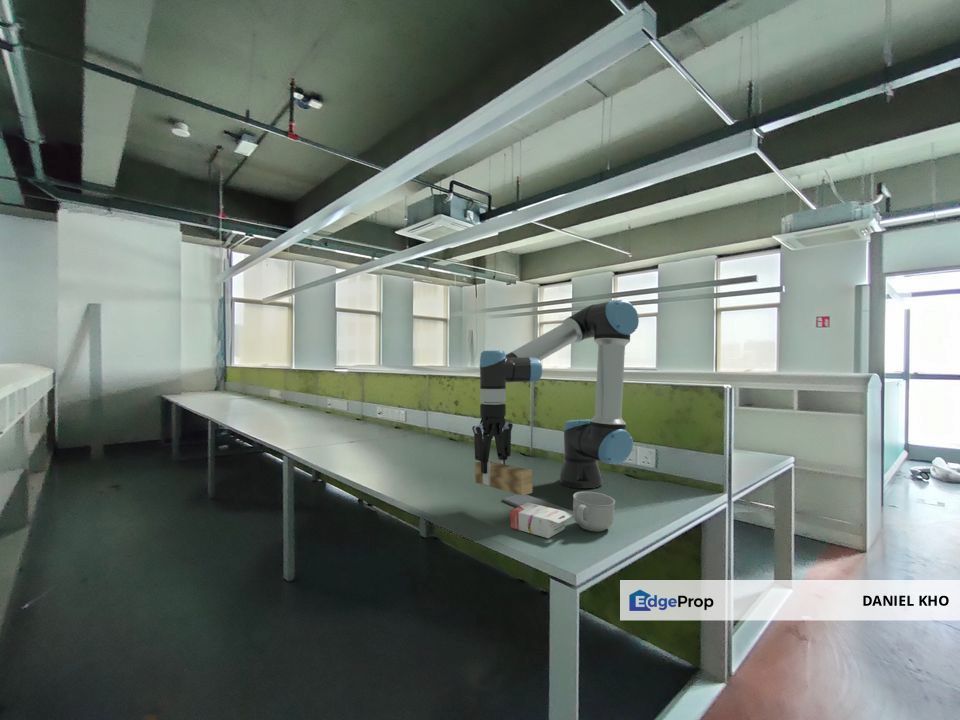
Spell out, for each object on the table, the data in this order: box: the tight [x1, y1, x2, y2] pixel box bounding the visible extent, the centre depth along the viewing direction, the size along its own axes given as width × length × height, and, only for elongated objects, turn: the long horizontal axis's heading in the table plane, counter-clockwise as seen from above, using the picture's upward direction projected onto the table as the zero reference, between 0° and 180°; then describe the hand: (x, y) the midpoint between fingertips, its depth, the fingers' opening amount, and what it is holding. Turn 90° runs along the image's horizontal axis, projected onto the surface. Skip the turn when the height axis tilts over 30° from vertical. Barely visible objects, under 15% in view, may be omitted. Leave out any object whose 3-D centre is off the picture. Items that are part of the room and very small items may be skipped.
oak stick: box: [474, 460, 533, 495], centre depth 120 cm, size 20×4×6 cm, turn 38°
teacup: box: [572, 491, 616, 533], centre depth 110 cm, size 14×11×8 cm
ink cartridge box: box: [509, 503, 574, 539], centre depth 109 cm, size 9×5×15 cm
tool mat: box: [501, 494, 573, 517], centre depth 127 cm, size 9×22×1 cm, turn 36°
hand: (493, 482), depth 123 cm, fingers closed on oak stick, 4 cm apart
